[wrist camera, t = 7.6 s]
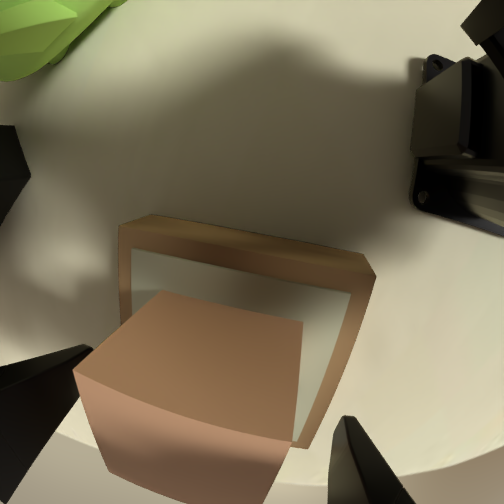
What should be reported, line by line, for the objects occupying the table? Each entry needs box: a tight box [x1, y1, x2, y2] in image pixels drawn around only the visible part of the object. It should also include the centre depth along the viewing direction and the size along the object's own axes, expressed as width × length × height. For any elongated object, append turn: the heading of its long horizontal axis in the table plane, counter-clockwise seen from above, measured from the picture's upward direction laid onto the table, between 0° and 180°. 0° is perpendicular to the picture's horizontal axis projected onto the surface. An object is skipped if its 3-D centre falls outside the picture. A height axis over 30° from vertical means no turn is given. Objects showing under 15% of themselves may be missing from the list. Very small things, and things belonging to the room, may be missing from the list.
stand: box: [118, 215, 376, 449], centre depth 12 cm, size 9×9×3 cm
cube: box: [73, 290, 303, 504], centre depth 8 cm, size 5×5×5 cm
